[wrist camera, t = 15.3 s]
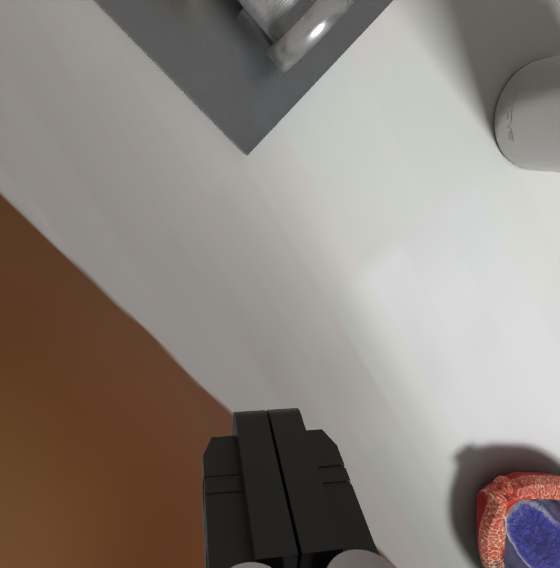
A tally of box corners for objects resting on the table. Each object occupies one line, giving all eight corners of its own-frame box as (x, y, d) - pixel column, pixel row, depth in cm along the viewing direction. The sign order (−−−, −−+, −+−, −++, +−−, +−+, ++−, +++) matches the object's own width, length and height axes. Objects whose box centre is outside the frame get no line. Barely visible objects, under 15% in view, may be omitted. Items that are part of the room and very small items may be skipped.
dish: (534, 637, 63) (563, 677, 59) (425, 499, 52) (450, 534, 48) (627, 564, 63) (664, 598, 59) (538, 411, 53) (574, 437, 48)
